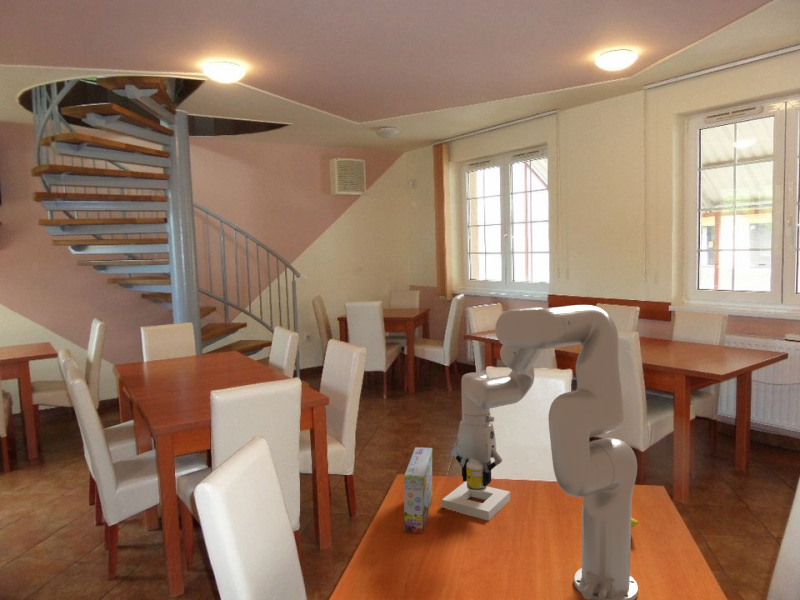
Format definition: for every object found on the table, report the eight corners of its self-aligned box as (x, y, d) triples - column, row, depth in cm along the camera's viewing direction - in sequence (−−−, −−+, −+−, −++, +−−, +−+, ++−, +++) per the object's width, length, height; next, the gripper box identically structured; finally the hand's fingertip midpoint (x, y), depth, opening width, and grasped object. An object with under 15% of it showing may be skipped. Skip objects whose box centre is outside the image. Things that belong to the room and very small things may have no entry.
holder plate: (489, 520, 151) (488, 511, 151) (442, 508, 158) (442, 499, 158) (510, 500, 162) (510, 491, 162) (465, 489, 170) (465, 481, 170)
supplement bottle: (466, 484, 163) (466, 450, 162) (485, 484, 162) (485, 450, 161) (466, 492, 157) (466, 457, 157) (486, 492, 157) (486, 458, 156)
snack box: (425, 534, 145) (424, 476, 143) (403, 533, 146) (402, 475, 144) (433, 497, 166) (432, 446, 164) (414, 496, 166) (413, 445, 165)
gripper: (510, 419, 156) (510, 483, 158) (454, 410, 166) (455, 471, 168) (499, 427, 150) (499, 494, 152) (441, 417, 160) (442, 480, 161)
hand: (476, 481), depth 160 cm, fingers closed on supplement bottle, 5 cm apart
